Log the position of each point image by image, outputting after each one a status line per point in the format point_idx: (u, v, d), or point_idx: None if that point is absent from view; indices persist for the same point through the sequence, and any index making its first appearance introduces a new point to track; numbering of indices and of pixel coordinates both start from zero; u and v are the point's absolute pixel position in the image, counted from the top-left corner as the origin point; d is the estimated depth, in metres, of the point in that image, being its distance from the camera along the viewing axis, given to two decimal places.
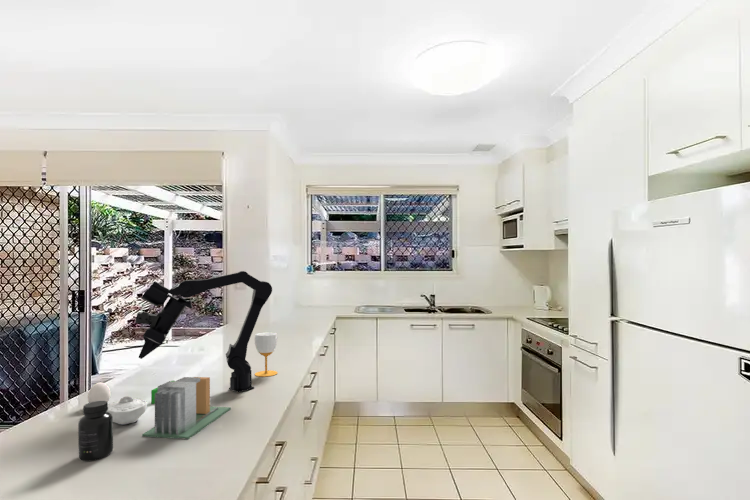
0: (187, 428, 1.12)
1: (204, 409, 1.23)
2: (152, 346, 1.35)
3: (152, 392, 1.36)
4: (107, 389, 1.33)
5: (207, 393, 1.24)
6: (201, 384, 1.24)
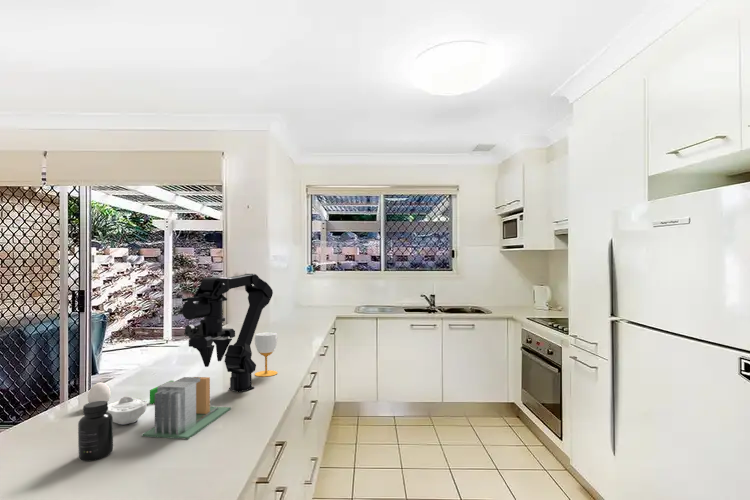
0: (187, 428, 1.12)
1: (204, 409, 1.23)
2: (207, 351, 1.33)
3: (150, 392, 1.36)
4: (107, 389, 1.33)
5: (207, 393, 1.24)
6: (201, 384, 1.24)
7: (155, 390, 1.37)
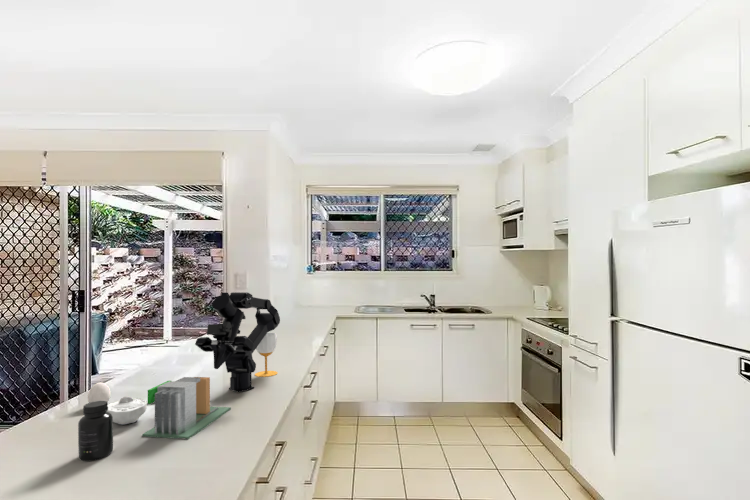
0: (187, 428, 1.12)
1: (204, 409, 1.23)
2: (227, 355, 1.38)
3: (148, 392, 1.36)
4: (107, 389, 1.33)
5: (207, 393, 1.24)
6: (201, 384, 1.24)
7: (153, 390, 1.37)
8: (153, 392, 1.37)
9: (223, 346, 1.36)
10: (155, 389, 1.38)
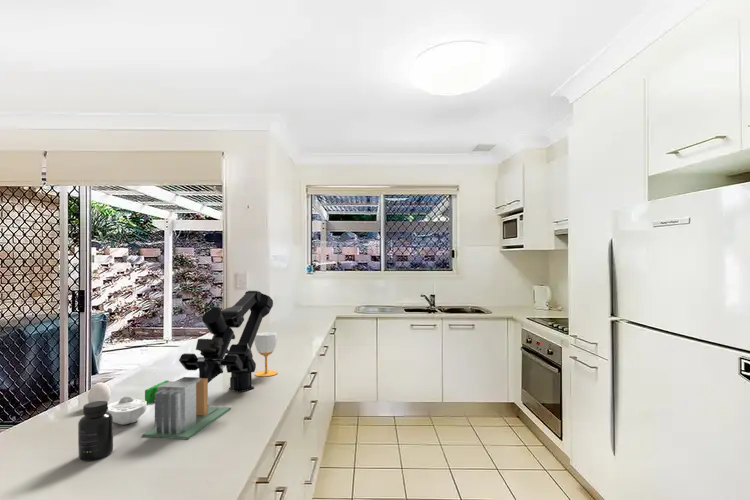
0: (187, 428, 1.12)
1: (201, 410, 1.22)
2: (213, 374, 1.29)
3: (145, 392, 1.36)
4: (107, 389, 1.33)
5: (205, 394, 1.23)
6: (199, 385, 1.23)
7: (150, 390, 1.37)
8: (150, 392, 1.37)
9: (211, 364, 1.27)
10: (152, 389, 1.38)
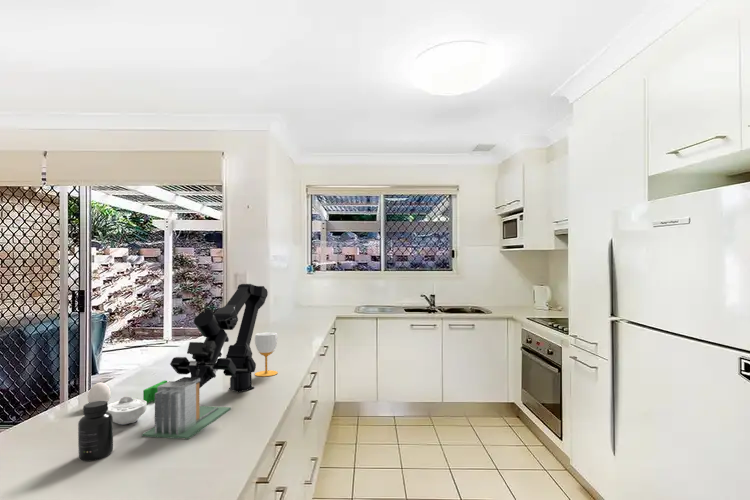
0: (187, 428, 1.12)
1: None
2: (205, 378, 1.25)
3: (144, 392, 1.36)
4: (107, 389, 1.33)
5: (196, 398, 1.19)
6: None
7: (149, 390, 1.37)
8: (149, 392, 1.37)
9: (203, 368, 1.23)
10: (151, 389, 1.38)
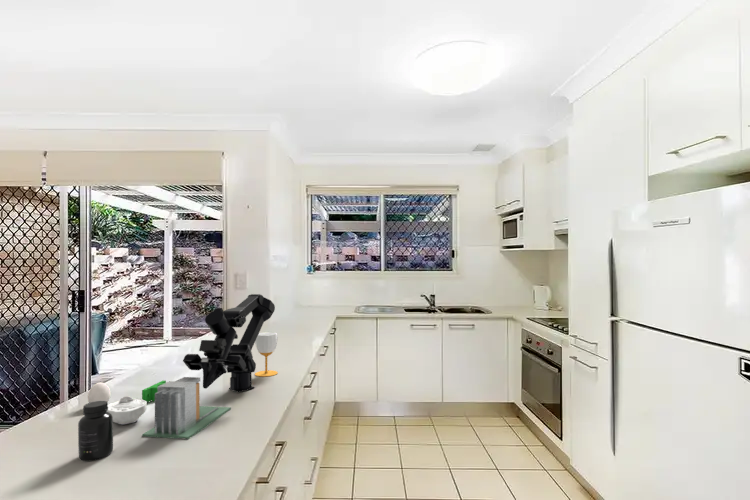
0: (187, 428, 1.12)
1: None
2: (217, 374, 1.31)
3: (143, 392, 1.36)
4: (107, 389, 1.33)
5: (196, 398, 1.19)
6: None
7: (147, 390, 1.37)
8: (147, 392, 1.37)
9: (215, 364, 1.29)
10: (149, 389, 1.38)
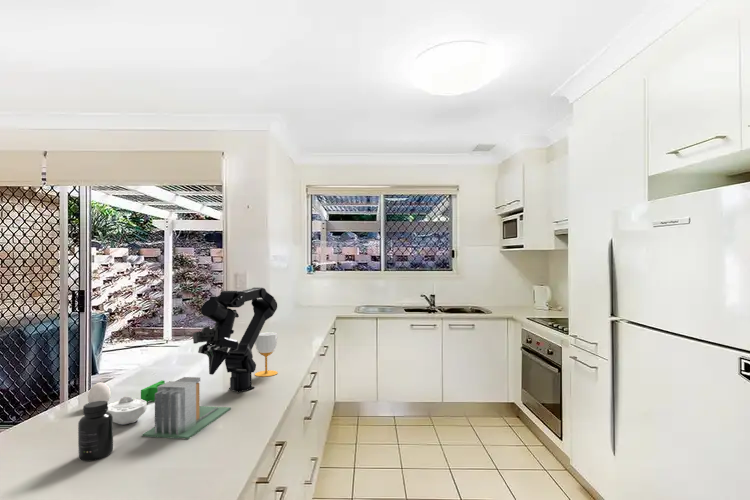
0: (187, 428, 1.12)
1: None
2: (220, 358, 1.35)
3: (141, 392, 1.36)
4: (107, 389, 1.33)
5: (196, 398, 1.19)
6: None
7: (146, 390, 1.37)
8: (146, 392, 1.37)
9: (211, 351, 1.33)
10: (148, 389, 1.38)
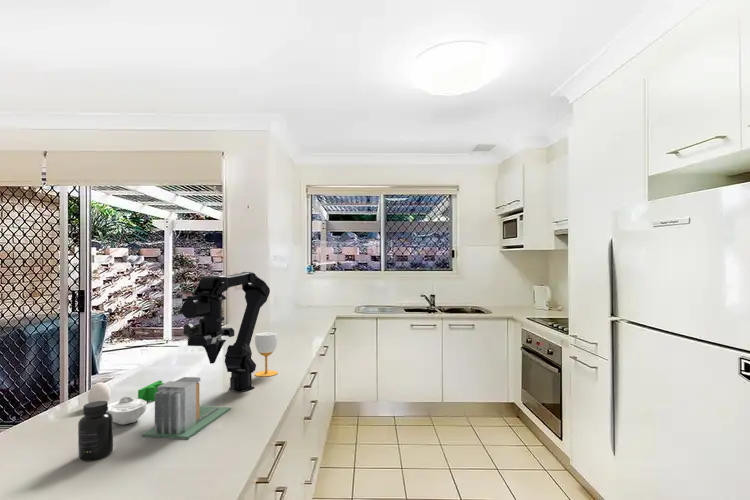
0: (187, 428, 1.12)
1: None
2: (212, 348, 1.35)
3: (139, 392, 1.36)
4: (107, 389, 1.33)
5: (196, 398, 1.19)
6: None
7: (143, 390, 1.37)
8: (143, 392, 1.37)
9: None
10: (145, 389, 1.38)
